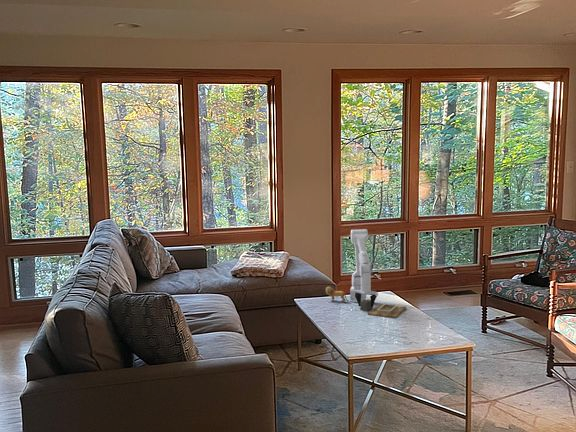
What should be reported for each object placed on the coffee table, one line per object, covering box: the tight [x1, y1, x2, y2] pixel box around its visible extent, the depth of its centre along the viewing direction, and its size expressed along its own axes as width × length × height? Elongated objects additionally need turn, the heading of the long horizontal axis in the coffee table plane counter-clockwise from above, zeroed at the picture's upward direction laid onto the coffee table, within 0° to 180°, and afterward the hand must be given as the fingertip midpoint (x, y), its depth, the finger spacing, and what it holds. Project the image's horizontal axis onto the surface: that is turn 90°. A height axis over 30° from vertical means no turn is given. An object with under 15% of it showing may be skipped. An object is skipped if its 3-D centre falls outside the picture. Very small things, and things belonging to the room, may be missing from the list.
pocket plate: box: [367, 303, 407, 319], centre depth 325 cm, size 16×20×2 cm
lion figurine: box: [325, 286, 349, 304], centre depth 349 cm, size 15×5×9 cm, turn 71°
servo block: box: [359, 298, 372, 312], centre depth 331 cm, size 4×9×6 cm, turn 151°
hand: (365, 306), depth 331 cm, fingers open, 7 cm apart
